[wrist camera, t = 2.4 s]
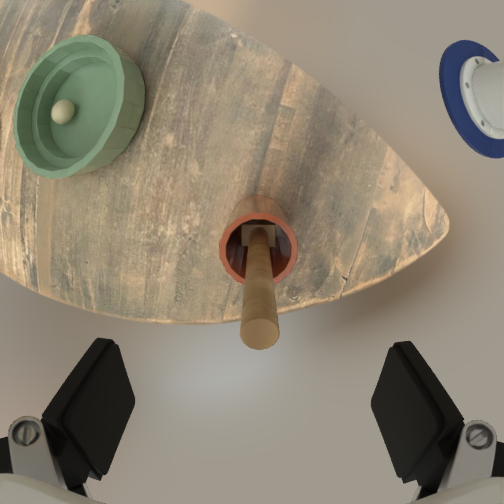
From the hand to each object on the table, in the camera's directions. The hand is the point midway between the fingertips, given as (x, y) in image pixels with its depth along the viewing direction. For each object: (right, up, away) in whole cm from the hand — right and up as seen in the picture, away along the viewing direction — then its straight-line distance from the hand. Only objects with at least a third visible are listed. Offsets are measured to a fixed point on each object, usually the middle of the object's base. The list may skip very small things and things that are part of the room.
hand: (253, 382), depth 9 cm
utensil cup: (+1, +7, +22) cm, 23 cm away
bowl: (-19, +21, +18) cm, 34 cm away
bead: (-22, +20, +16) cm, 34 cm away
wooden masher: (+1, +7, +21) cm, 23 cm away
